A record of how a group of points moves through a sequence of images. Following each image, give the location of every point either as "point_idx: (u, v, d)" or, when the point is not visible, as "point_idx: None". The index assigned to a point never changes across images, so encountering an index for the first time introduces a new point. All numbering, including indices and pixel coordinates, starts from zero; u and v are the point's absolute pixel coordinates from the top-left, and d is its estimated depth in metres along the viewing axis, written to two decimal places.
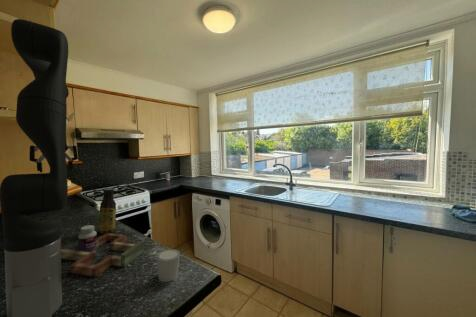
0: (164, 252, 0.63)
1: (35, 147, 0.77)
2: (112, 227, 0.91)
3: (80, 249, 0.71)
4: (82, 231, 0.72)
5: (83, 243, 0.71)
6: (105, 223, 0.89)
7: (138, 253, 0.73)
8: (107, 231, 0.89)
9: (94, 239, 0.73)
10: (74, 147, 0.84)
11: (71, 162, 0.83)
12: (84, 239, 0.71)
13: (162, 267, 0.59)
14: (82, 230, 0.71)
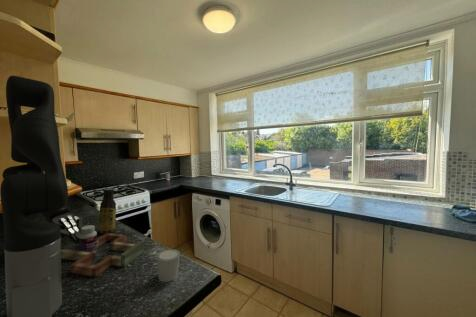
0: (164, 252, 0.63)
1: None
2: (112, 227, 0.91)
3: (80, 249, 0.71)
4: (82, 231, 0.72)
5: (83, 243, 0.71)
6: (105, 223, 0.89)
7: (138, 253, 0.73)
8: (107, 231, 0.89)
9: (94, 239, 0.73)
10: (80, 217, 0.80)
11: (78, 232, 0.75)
12: (84, 239, 0.71)
13: (162, 267, 0.59)
14: (82, 230, 0.72)
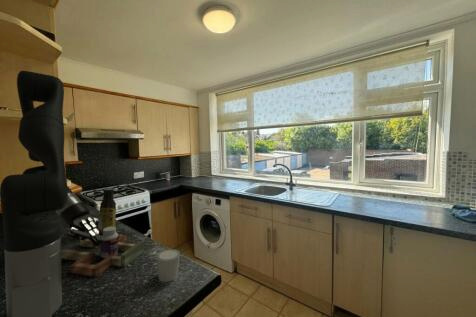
0: (164, 252, 0.63)
1: None
2: None
3: (104, 251, 0.71)
4: (105, 233, 0.71)
5: (107, 245, 0.71)
6: (105, 223, 0.89)
7: (138, 253, 0.73)
8: None
9: (117, 240, 0.73)
10: (99, 219, 0.79)
11: (98, 234, 0.74)
12: (108, 241, 0.71)
13: (162, 267, 0.59)
14: (105, 232, 0.71)
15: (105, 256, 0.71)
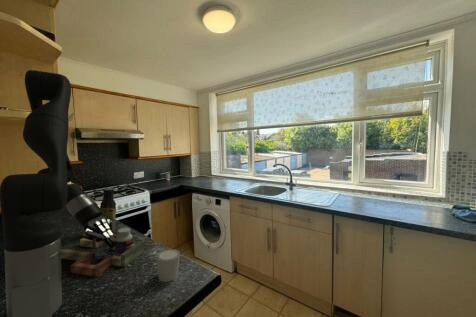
0: (164, 252, 0.63)
1: None
2: None
3: (119, 252, 0.70)
4: (121, 234, 0.70)
5: (123, 246, 0.70)
6: None
7: (138, 253, 0.73)
8: None
9: (131, 241, 0.73)
10: (113, 220, 0.78)
11: (112, 236, 0.73)
12: (124, 242, 0.70)
13: (162, 267, 0.59)
14: (121, 233, 0.70)
15: None
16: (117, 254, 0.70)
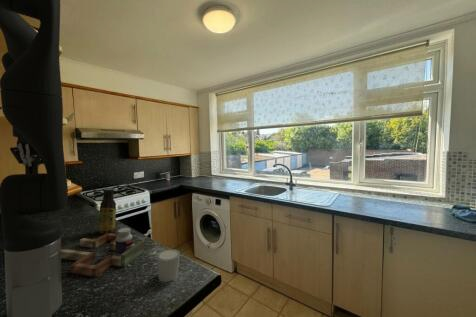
0: (164, 252, 0.63)
1: (16, 147, 0.63)
2: (112, 227, 0.91)
3: (119, 252, 0.70)
4: (121, 234, 0.70)
5: (123, 246, 0.70)
6: (105, 223, 0.89)
7: (138, 253, 0.73)
8: (107, 231, 0.89)
9: (132, 241, 0.73)
10: None
11: (31, 167, 0.62)
12: (124, 242, 0.70)
13: (162, 267, 0.59)
14: (121, 233, 0.70)
15: None
16: (117, 254, 0.70)
